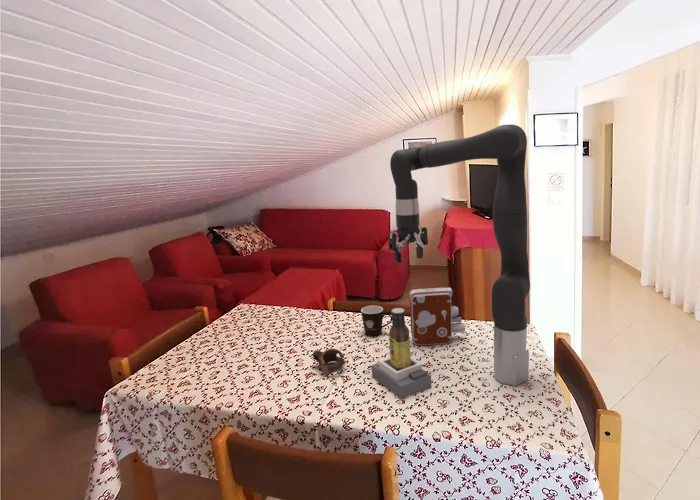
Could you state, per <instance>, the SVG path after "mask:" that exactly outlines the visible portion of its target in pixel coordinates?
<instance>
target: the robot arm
mask: <svg viewBox="0 0 700 500" xmlns="http://www.w3.org/2000/svg"><path fill="white" fill-rule="evenodd" d="M527 137H528V136H527V135H526V133H525V130H524V129H523V128H522V127H520V126H519V125H517V124H501V125H499V126H496V127H494V128H491V129H489V130H487V131H484V132H482V133H478V134H476V135H473V136H469V137H465V138H459V139H452V140H444V141H439V142H433V143H429V144H425V145H423V146H418V147H412V148H405V149H397V150H395V151H394V152H393V153H392V154H391V156H390V162H389V165H390V172H391V175H392V178H393V179H392V180H393V182H394V186H395V207H394V208H395V225H396V228H397V231H396V232H393V231H392V232H390V231H389V232H388V251H390V252H394V261H395V263H396V264H402V262H403V261H402V250H403V249H404V248H403V247H405V246H406V245H409V244H411V243H413V244H415V245H416V248H415V251H416V252H415V253H416V258H417V259H418V260H419V259H423V256H424V247H425V246H427V245H429V240H428V239H429V238H428V228H427V227H425V226H420V225H421V224H420V204H419V195H418V194H419V193H418V191H419V190H418V182H417V181H416V179H413V176H412V171H416V170H422V169H425V168H426V169H429V168H430V169H431V168H438V167H443V166H448V165H453V164H457V163H461V162H465V161H471V160H473V161H474V160H482V159H483V160H486V159H487V160H496V162H497V181H496V182H497V183H496V187H495V192H494V196H493V202H492V228H493V232H494V236H495V239H496V244H497V245H498V248H499V251H500V262H501V263H500V275H499V277H498V278H497V279H496V280H495V281H494V283H493V285H492V288H491V314H492V319H493V377H494V380H496V381H497V382H498V383H502V384H504V385H510V386H512V387H517V386H519V385H521V384H523V383H525V382H527V381H529V373H530V372H529V371H530V370H529V368H530V351H528V350H527V335H528V333H527V332H528V330H527V329H528V328H527V327H528V319H527V316H526V315H525V300H526V298H527V297H528V295H529V293H530V290H531V281H530V280H531V279H530V273H529V272H530V271H529V267H528V265H529V264H528V257H527V248H528V247H527V245H528V208H527V189H526V179H525V178H526V176H525V171H526V169H525V168H526V157H527V156H526V155H527V146H528V139H527Z"/></svg>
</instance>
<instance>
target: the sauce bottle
mask: <svg viewBox="0 0 700 500" xmlns="http://www.w3.org/2000/svg"><path fill="white" fill-rule="evenodd" d="M390 315H391V316H392V321H391V323H392V325H391V327H390V328H389V330H388V341H389V342H388V343H389V344H388V345H389V355H390V356H389V357H390V363H391V367H392V368H393V369H395V370H396V371H399V370H402V369H404V368H407V367H410V366H411V358H412V357H411V356H412V355H411V337H410V330H409V327H408V326H407V325H406V320H405V319H406V318H405V316H406V311H405V309H404V308H402V307H395V308H393V309H391V314H390Z"/></svg>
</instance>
